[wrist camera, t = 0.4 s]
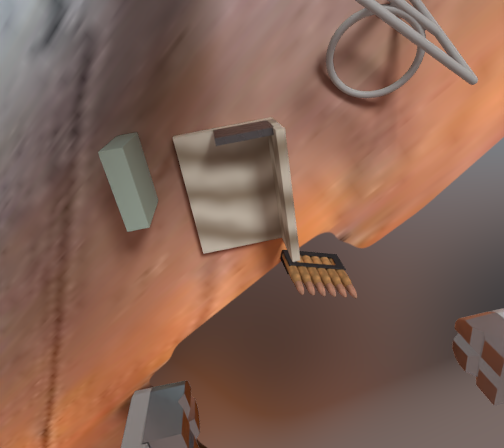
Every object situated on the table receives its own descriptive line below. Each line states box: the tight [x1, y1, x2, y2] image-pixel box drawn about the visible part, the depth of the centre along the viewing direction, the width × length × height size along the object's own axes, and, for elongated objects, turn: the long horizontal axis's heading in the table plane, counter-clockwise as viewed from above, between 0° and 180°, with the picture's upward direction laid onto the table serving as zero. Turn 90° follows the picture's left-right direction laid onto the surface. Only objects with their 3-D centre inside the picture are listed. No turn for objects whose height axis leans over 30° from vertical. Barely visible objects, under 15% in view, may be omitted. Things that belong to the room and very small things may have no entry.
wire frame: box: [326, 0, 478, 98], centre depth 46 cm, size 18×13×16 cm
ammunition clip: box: [280, 250, 357, 298], centre depth 58 cm, size 11×2×12 cm, turn 80°
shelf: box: [173, 117, 300, 262], centre depth 51 cm, size 20×15×10 cm
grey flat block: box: [98, 132, 158, 232], centre depth 48 cm, size 3×11×10 cm, turn 9°
